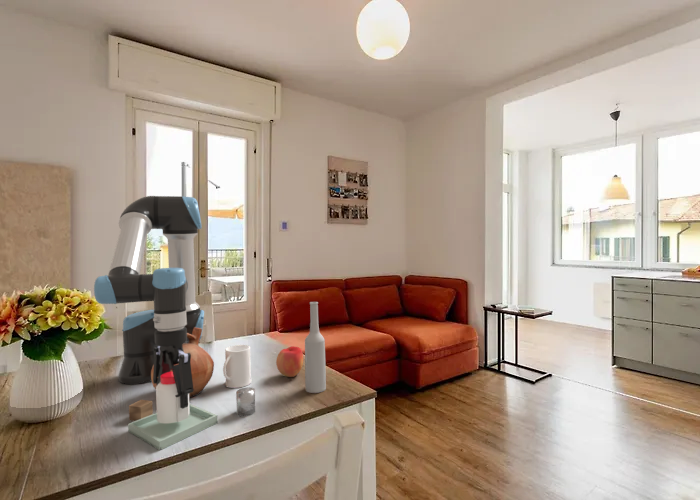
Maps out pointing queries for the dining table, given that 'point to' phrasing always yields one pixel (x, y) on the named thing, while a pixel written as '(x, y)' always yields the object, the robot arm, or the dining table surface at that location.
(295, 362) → the apple
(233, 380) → the mug
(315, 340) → the bottle
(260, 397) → the dining table surface
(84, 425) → the dining table surface
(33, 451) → the dining table surface
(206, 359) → the jug
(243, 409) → the grey tin
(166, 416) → the pill bottle
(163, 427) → the tray
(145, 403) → the walnut block
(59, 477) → the dining table surface
